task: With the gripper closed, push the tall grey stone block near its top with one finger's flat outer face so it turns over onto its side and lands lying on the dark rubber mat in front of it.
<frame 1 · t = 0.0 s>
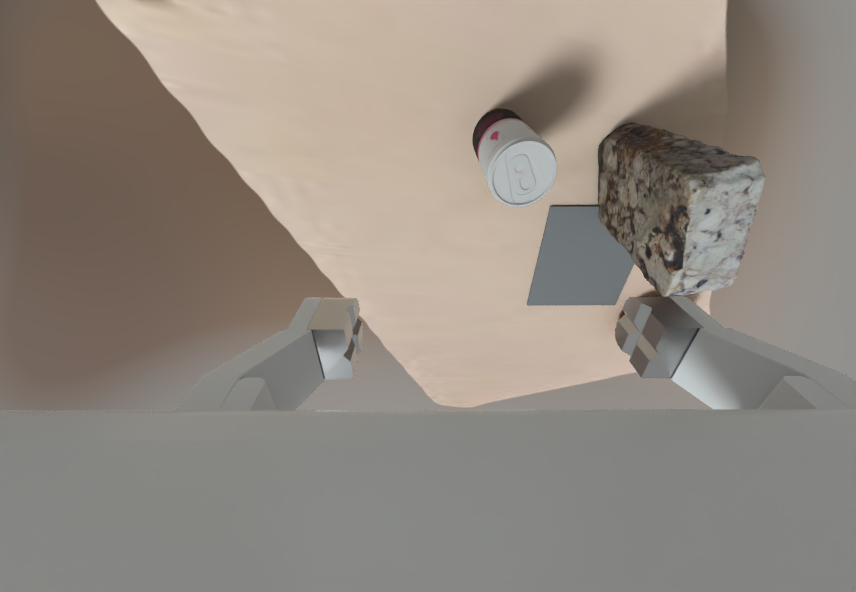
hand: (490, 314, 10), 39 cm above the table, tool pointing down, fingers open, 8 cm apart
mat: (585, 260, 55), on the table
stone block: (615, 175, 46), on the table, touching mat
beverage can: (497, 136, 43), on the table
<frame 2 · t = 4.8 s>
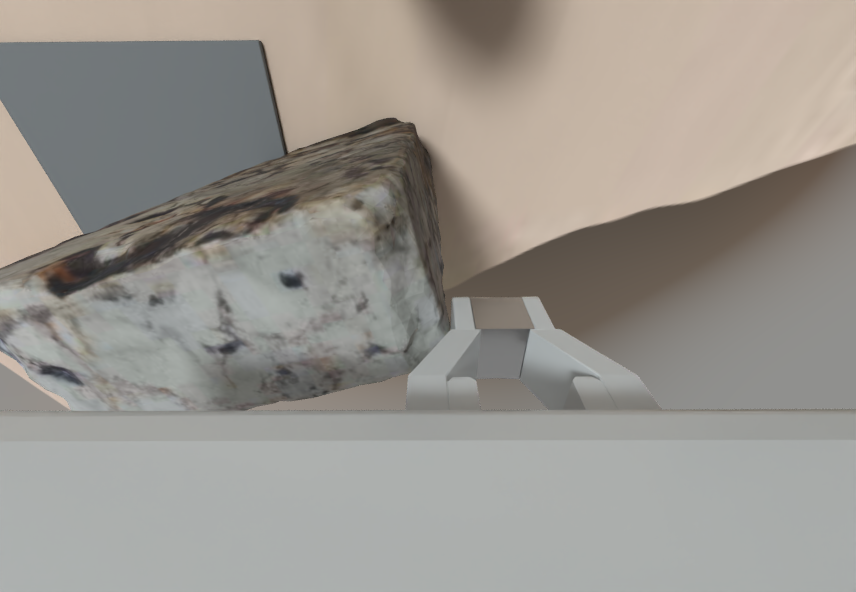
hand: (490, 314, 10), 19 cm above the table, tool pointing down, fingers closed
mat: (169, 170, 26), on the table
stone block: (347, 170, 26), on the table, touching gripper, mat
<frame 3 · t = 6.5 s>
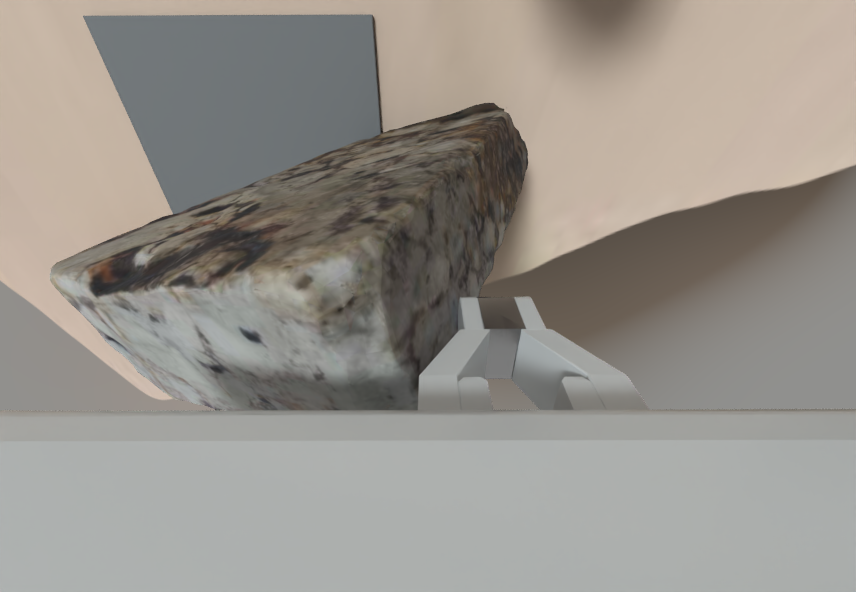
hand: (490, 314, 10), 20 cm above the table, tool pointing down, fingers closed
mat: (263, 147, 26), on the table
stone block: (435, 156, 24), point 2 cm above the table, touching gripper, mat
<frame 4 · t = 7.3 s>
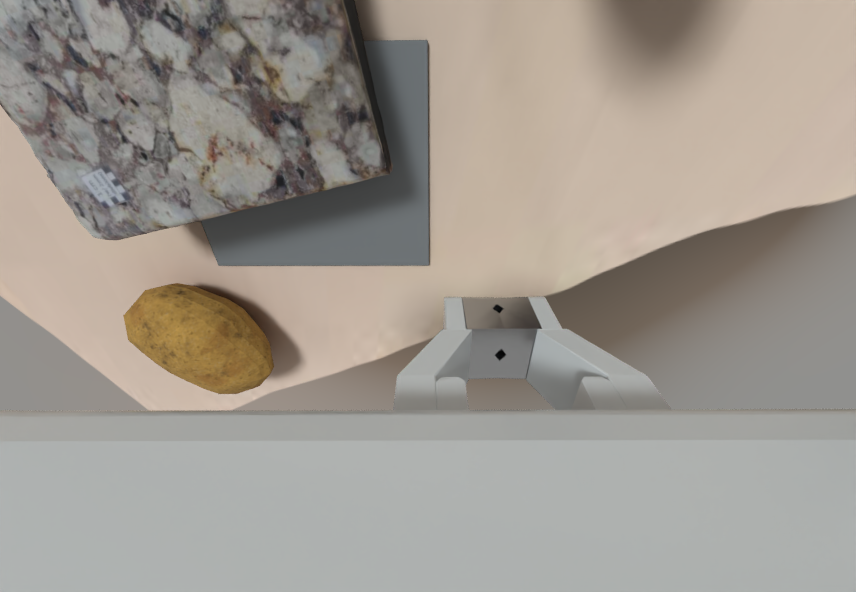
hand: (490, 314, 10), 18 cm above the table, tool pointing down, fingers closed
mat: (306, 171, 26), on the table
stone block: (370, 57, 19), point 3 cm above the table, touching mat
potato: (227, 316, 34), on the table
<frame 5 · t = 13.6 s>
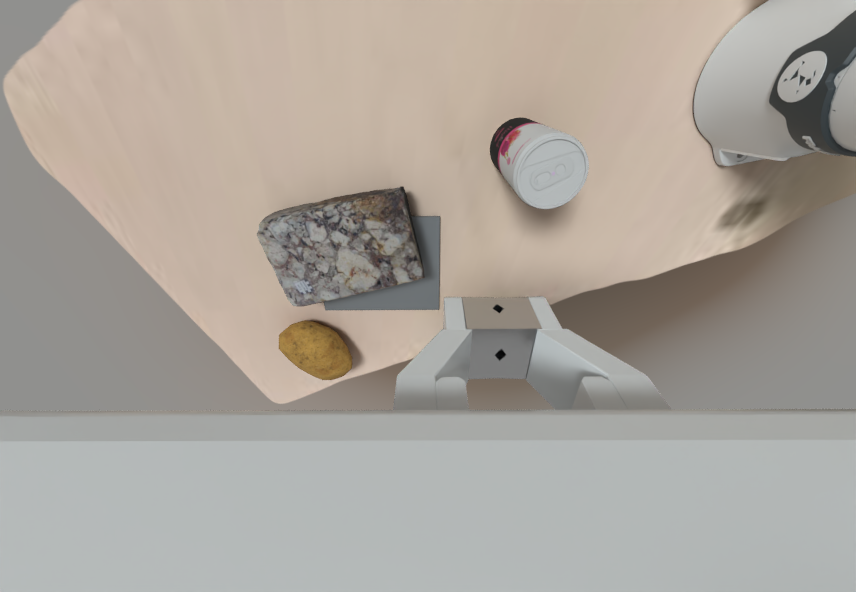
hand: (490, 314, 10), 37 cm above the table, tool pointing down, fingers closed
mat: (378, 266, 51), on the table
stone block: (417, 232, 45), point 3 cm above the table, touching mat
potato: (323, 336, 59), on the table
beverage can: (515, 146, 42), on the table
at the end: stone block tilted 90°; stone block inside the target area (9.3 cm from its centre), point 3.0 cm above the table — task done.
